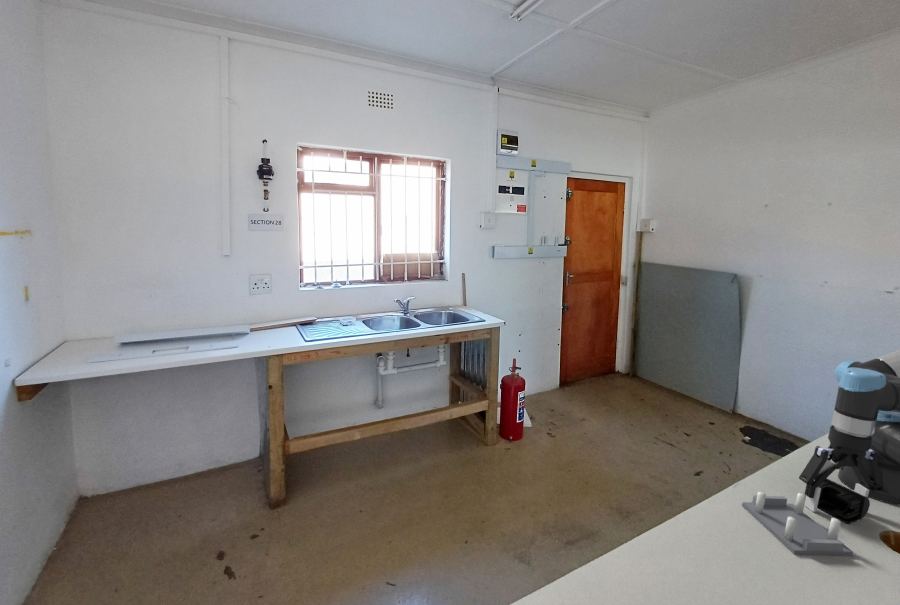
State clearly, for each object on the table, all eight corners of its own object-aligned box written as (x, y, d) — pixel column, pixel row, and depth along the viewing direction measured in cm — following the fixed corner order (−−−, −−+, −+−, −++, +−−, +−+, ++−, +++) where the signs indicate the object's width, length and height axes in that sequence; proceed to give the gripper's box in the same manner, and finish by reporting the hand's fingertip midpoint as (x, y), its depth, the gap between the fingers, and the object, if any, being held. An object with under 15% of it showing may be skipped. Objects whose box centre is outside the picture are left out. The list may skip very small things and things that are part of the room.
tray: (791, 507, 105) (796, 486, 104) (852, 555, 89) (858, 531, 88) (741, 505, 105) (745, 484, 104) (793, 554, 89) (798, 529, 88)
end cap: (866, 520, 101) (872, 495, 100) (849, 526, 99) (855, 501, 98) (819, 495, 111) (824, 472, 109) (802, 500, 108) (807, 477, 107)
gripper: (882, 424, 105) (864, 500, 109) (790, 421, 104) (776, 498, 108) (915, 439, 97) (895, 520, 101) (817, 436, 97) (800, 517, 101)
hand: (833, 509), depth 105 cm, fingers open, 12 cm apart
